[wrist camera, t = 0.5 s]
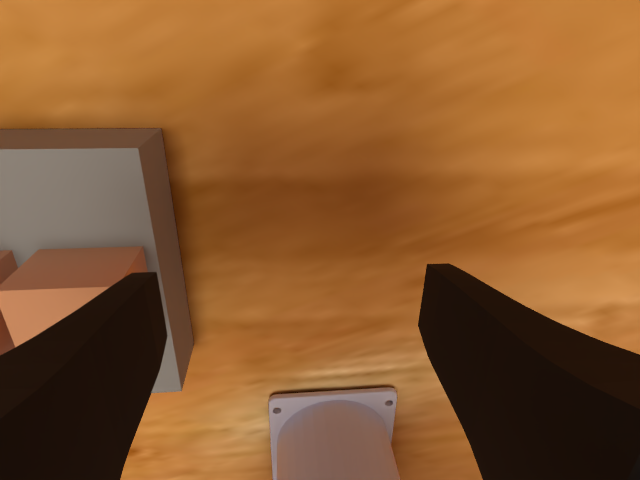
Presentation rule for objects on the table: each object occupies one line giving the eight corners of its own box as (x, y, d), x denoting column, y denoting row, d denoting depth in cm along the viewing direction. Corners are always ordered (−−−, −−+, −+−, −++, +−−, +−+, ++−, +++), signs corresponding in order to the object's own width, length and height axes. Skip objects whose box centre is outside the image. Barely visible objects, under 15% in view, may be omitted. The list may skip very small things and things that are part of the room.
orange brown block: (158, 325, 19) (139, 374, 16) (64, 330, 18) (28, 380, 16) (142, 246, 17) (118, 286, 14) (38, 249, 17) (-7, 291, 14)
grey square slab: (193, 343, 24) (181, 390, 21) (-34, 355, 23) (-84, 407, 20) (161, 128, 18) (138, 147, 15) (-139, 129, 17) (-229, 151, 14)
